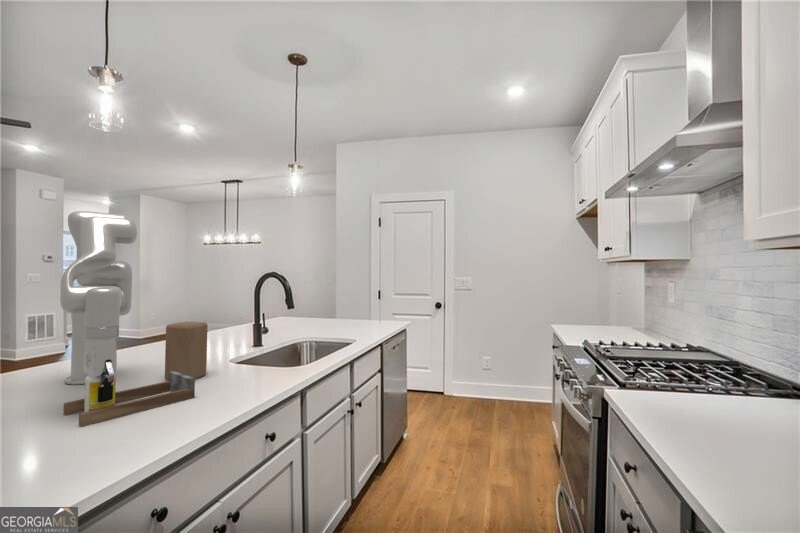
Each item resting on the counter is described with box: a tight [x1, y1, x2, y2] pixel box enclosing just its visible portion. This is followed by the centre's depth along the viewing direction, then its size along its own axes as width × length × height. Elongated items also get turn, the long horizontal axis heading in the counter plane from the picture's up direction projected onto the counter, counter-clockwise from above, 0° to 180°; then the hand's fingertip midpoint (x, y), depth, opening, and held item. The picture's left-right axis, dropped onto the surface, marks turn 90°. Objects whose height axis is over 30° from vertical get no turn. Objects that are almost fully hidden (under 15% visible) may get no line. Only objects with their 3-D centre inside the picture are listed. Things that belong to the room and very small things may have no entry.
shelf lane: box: [62, 371, 196, 428], centre depth 110 cm, size 14×28×6 cm, turn 145°
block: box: [164, 321, 209, 381], centre depth 139 cm, size 10×10×20 cm
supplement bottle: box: [83, 373, 117, 413], centre depth 104 cm, size 7×7×13 cm
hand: (100, 397), depth 104 cm, fingers closed on supplement bottle, 6 cm apart
